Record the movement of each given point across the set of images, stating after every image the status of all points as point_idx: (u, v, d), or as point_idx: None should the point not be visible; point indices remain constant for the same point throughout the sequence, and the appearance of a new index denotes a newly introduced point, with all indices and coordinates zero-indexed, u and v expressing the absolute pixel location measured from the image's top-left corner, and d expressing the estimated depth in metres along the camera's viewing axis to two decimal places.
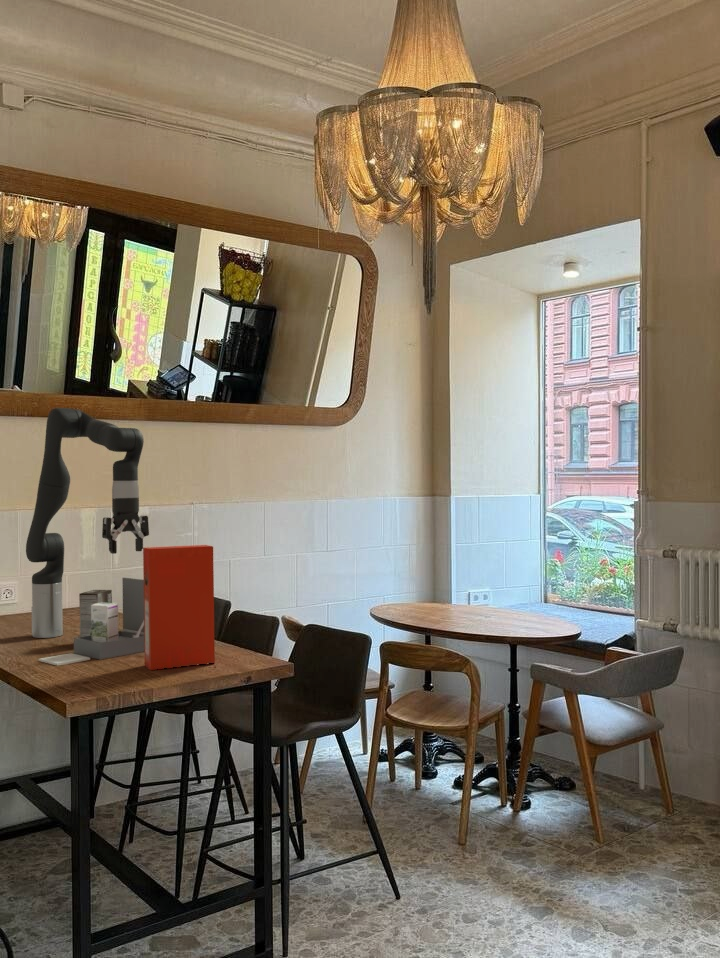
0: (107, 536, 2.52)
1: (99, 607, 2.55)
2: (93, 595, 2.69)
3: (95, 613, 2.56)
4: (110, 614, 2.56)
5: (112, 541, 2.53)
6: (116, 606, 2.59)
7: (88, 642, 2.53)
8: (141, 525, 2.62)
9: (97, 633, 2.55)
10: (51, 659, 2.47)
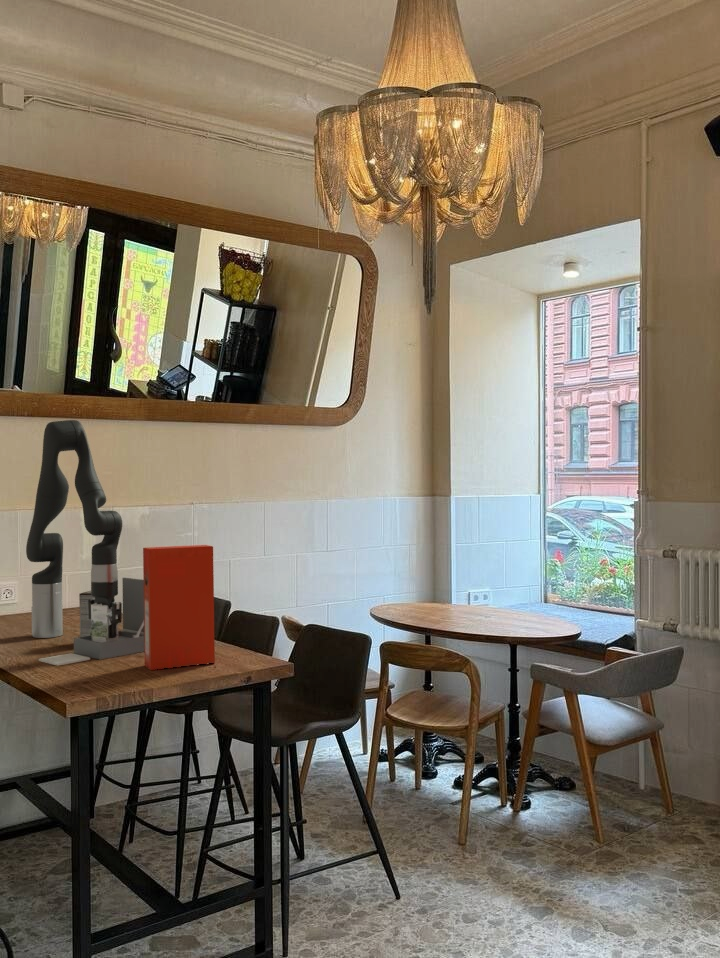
0: (120, 620, 2.54)
1: (99, 607, 2.55)
2: None
3: (95, 613, 2.56)
4: (110, 613, 2.56)
5: None
6: None
7: (88, 642, 2.53)
8: None
9: (97, 633, 2.55)
10: (51, 659, 2.47)
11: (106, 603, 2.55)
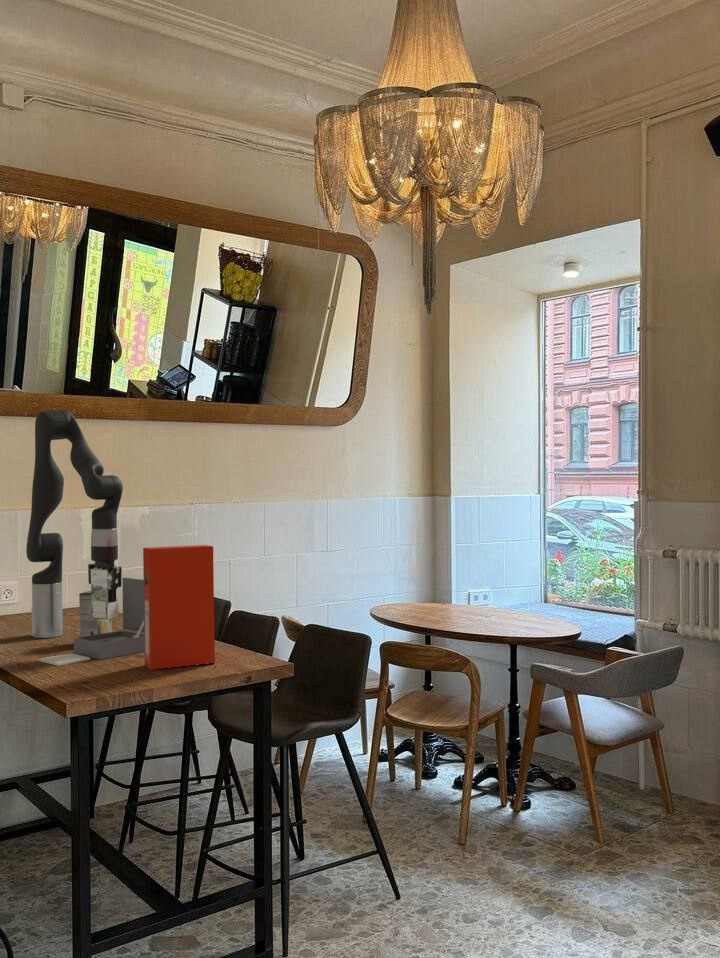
0: (120, 584, 2.55)
1: (98, 572, 2.55)
2: None
3: (94, 578, 2.56)
4: None
5: None
6: None
7: (88, 642, 2.53)
8: None
9: (97, 598, 2.56)
10: (51, 659, 2.47)
11: (106, 567, 2.55)
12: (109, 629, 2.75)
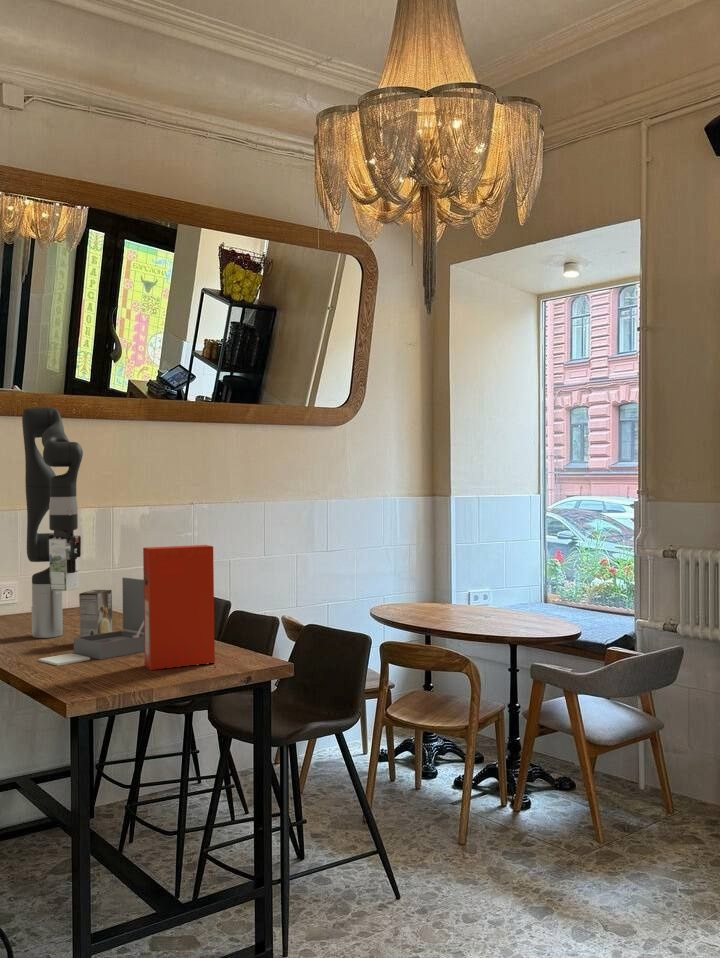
0: None
1: (57, 541, 2.45)
2: (93, 595, 2.69)
3: (53, 548, 2.46)
4: None
5: None
6: None
7: (88, 642, 2.53)
8: None
9: (55, 568, 2.46)
10: (51, 659, 2.47)
11: (65, 537, 2.46)
12: (109, 629, 2.75)
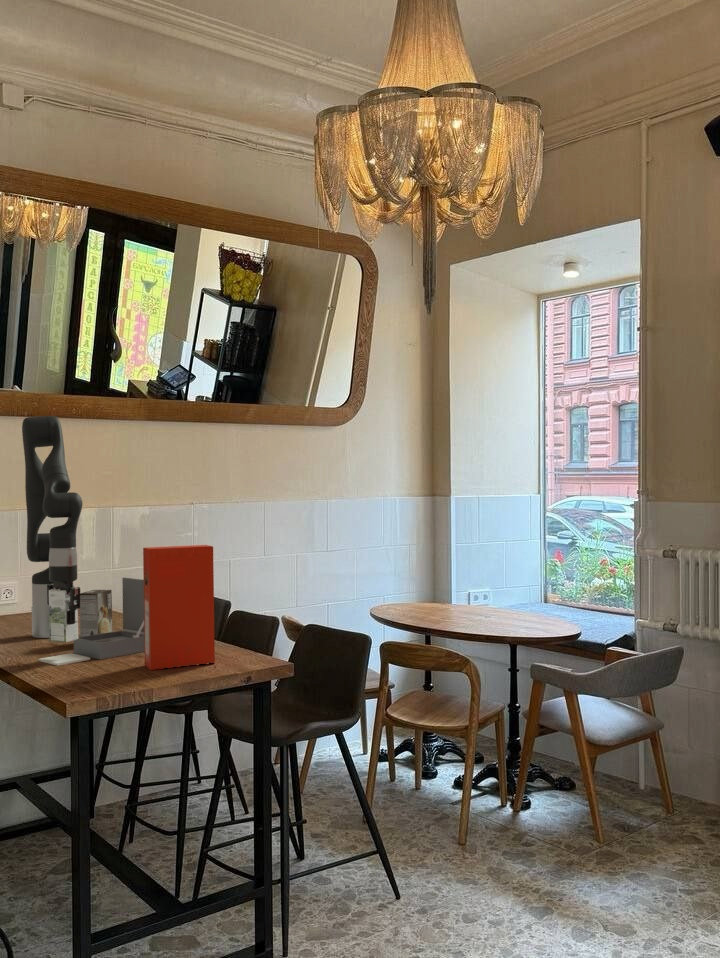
0: (79, 606, 2.45)
1: (56, 593, 2.45)
2: (93, 595, 2.69)
3: (52, 599, 2.46)
4: (68, 599, 2.46)
5: None
6: None
7: (88, 642, 2.53)
8: None
9: (55, 620, 2.46)
10: (51, 659, 2.47)
11: (64, 588, 2.46)
12: (109, 629, 2.75)
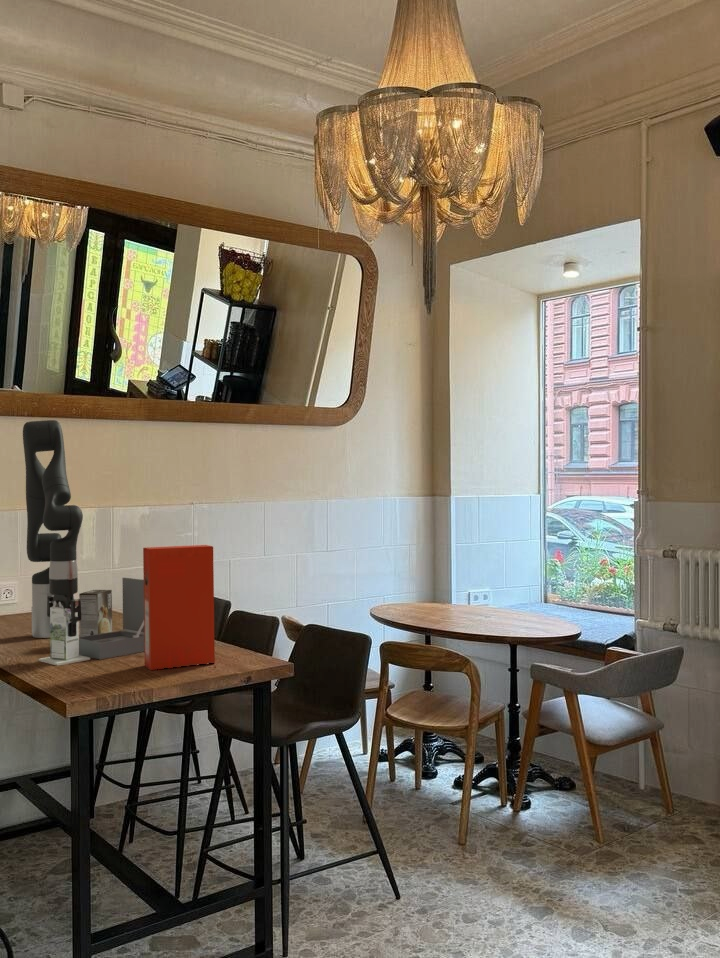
0: (80, 618, 2.44)
1: (58, 610, 2.46)
2: (93, 595, 2.69)
3: (54, 616, 2.46)
4: None
5: None
6: None
7: (88, 642, 2.53)
8: (51, 606, 2.52)
9: (55, 637, 2.46)
10: (51, 659, 2.47)
11: (65, 601, 2.46)
12: (109, 629, 2.75)
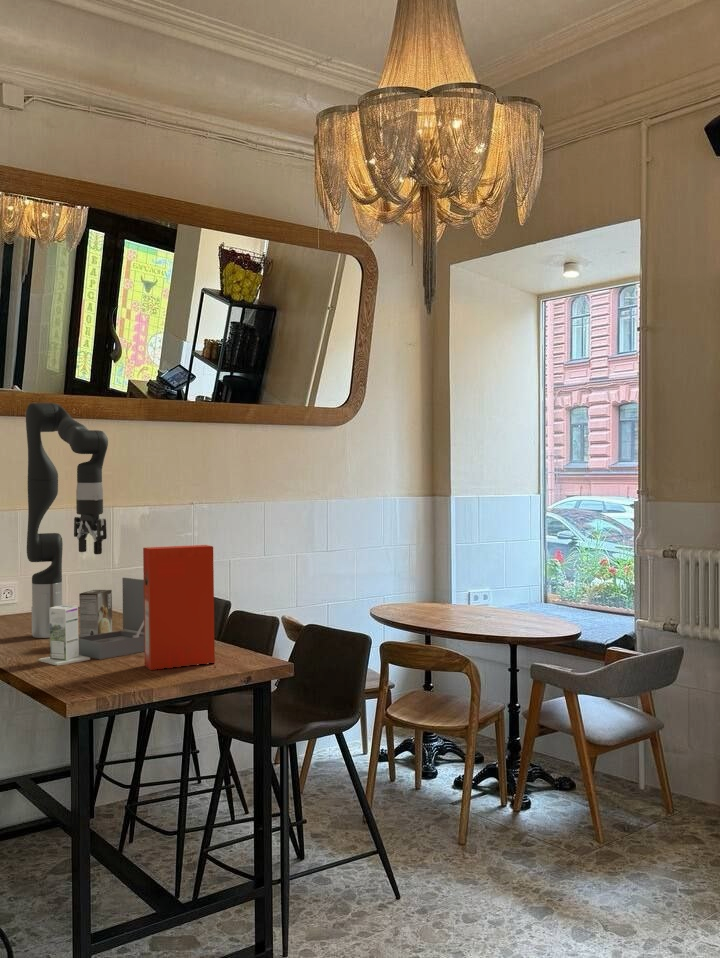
0: None
1: (57, 610, 2.45)
2: (93, 595, 2.69)
3: (53, 617, 2.46)
4: (68, 617, 2.46)
5: None
6: (76, 609, 2.49)
7: (88, 642, 2.53)
8: (77, 526, 2.65)
9: (55, 637, 2.46)
10: (51, 659, 2.47)
11: (91, 520, 2.59)
12: (109, 629, 2.75)
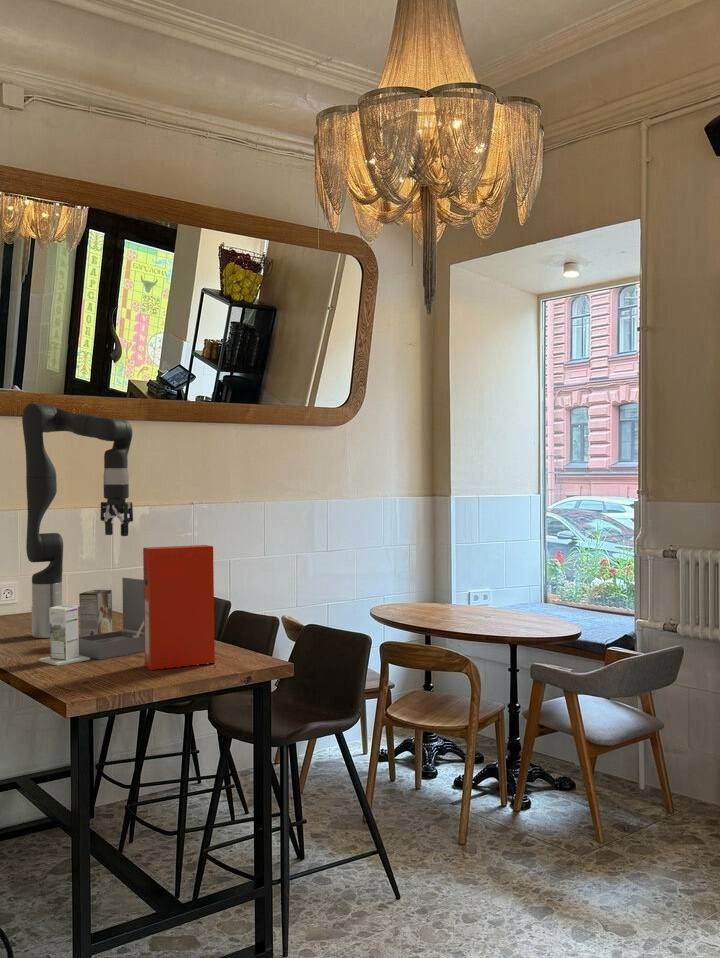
0: None
1: (57, 610, 2.45)
2: (93, 595, 2.69)
3: (53, 617, 2.46)
4: (68, 617, 2.46)
5: None
6: (76, 609, 2.49)
7: (88, 642, 2.53)
8: (104, 511, 2.78)
9: (55, 637, 2.46)
10: (51, 659, 2.47)
11: (118, 504, 2.72)
12: (109, 629, 2.75)
